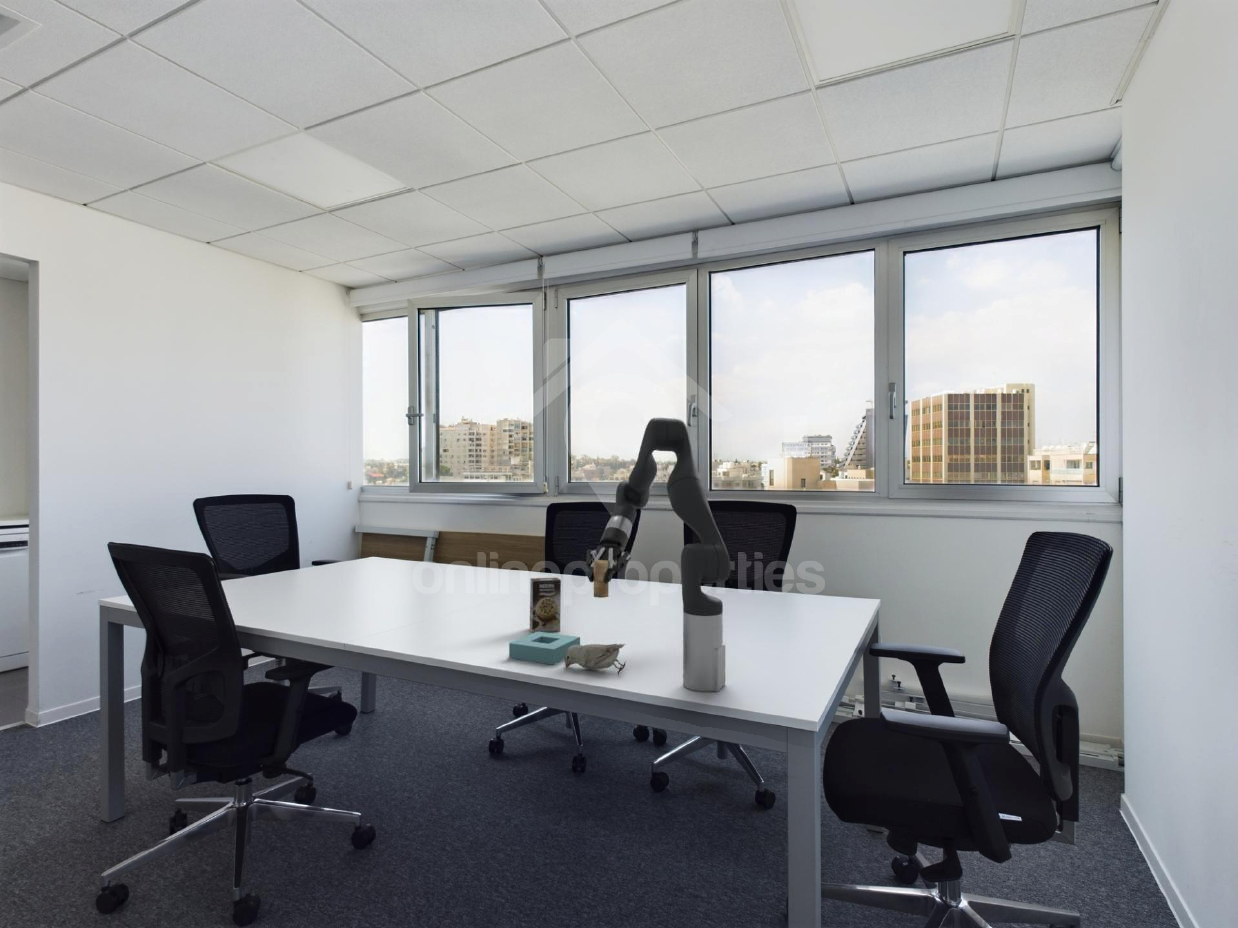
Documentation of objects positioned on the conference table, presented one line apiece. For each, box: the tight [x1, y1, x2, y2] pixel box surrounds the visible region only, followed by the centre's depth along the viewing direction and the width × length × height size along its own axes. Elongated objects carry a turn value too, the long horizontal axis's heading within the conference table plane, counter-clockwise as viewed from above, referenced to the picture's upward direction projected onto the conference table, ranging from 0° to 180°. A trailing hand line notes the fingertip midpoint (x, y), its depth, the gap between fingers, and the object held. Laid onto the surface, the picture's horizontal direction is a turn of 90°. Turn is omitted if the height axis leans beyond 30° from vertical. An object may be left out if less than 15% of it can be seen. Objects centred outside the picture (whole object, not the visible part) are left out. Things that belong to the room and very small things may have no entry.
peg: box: [593, 559, 609, 599], centre depth 184 cm, size 4×4×10 cm
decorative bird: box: [564, 643, 627, 675], centre depth 164 cm, size 5×16×8 cm, turn 72°
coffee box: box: [529, 577, 562, 633], centre depth 206 cm, size 9×6×16 cm
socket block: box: [508, 632, 581, 666], centre depth 177 cm, size 14×14×4 cm
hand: (598, 580), depth 182 cm, fingers closed on peg, 4 cm apart
